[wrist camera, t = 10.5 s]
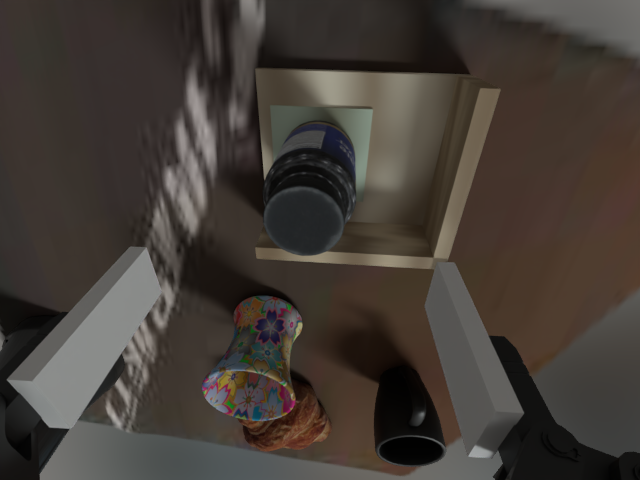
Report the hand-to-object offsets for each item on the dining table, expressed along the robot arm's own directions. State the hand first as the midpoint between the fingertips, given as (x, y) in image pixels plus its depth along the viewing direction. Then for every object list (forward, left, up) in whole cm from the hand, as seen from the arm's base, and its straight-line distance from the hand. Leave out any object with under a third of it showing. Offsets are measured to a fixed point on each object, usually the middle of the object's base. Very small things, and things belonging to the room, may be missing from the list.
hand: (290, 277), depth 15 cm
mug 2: (+12, -30, -16) cm, 37 cm away
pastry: (-5, -39, -17) cm, 43 cm away
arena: (+3, 0, -16) cm, 17 cm away
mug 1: (-6, -22, -16) cm, 28 cm away
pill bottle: (0, 0, -15) cm, 15 cm away
